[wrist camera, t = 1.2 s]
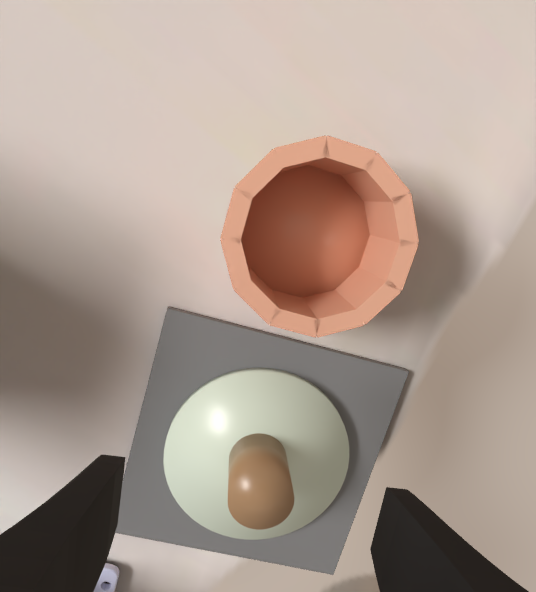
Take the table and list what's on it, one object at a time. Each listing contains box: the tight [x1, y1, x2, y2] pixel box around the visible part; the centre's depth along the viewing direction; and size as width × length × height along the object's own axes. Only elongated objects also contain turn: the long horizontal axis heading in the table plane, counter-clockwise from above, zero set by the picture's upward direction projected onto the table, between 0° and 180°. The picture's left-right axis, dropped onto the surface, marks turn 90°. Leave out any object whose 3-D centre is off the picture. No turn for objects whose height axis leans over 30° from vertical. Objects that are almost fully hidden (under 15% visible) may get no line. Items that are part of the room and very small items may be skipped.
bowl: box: [220, 136, 419, 337], centre depth 18 cm, size 7×7×4 cm
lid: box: [163, 367, 349, 540], centre depth 20 cm, size 9×9×4 cm
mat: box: [115, 307, 409, 575], centre depth 22 cm, size 12×12×1 cm
